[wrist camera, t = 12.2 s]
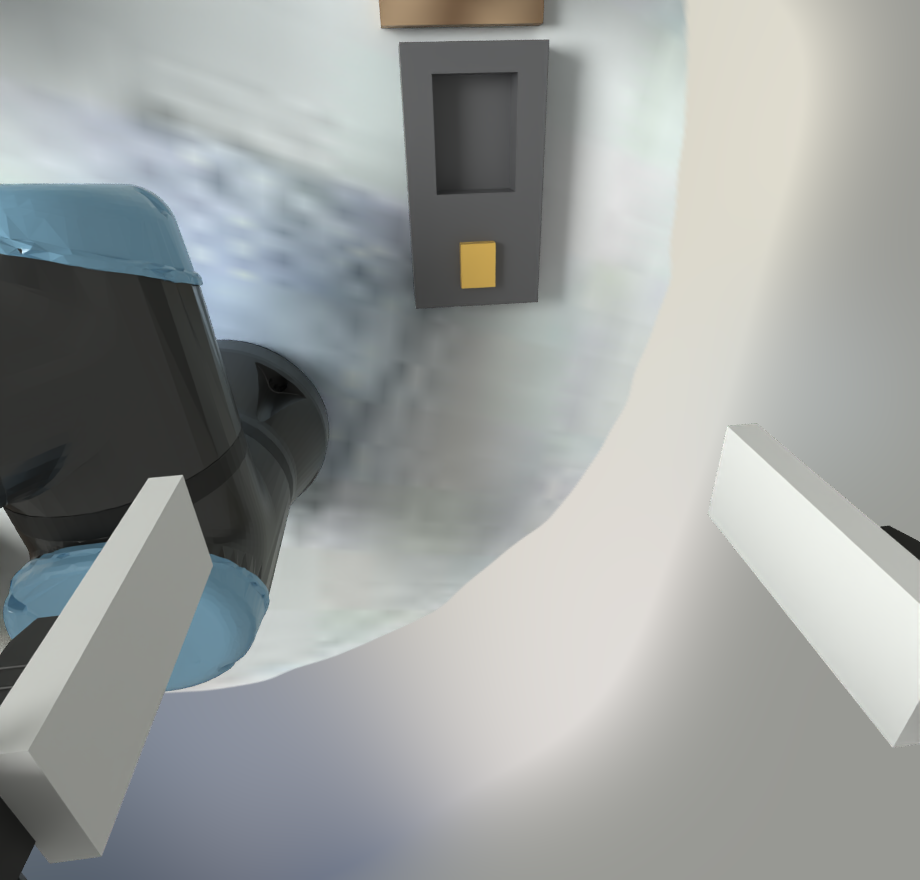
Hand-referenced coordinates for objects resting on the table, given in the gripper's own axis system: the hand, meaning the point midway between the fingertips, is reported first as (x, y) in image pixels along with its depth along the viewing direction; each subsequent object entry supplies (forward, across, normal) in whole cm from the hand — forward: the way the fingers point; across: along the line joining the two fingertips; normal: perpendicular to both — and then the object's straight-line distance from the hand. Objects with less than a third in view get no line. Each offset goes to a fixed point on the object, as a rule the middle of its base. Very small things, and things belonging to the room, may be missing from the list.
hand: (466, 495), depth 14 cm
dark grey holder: (+33, -4, -4) cm, 33 cm away
